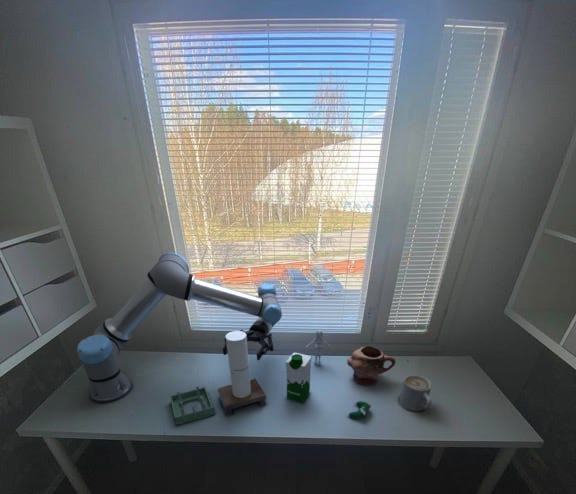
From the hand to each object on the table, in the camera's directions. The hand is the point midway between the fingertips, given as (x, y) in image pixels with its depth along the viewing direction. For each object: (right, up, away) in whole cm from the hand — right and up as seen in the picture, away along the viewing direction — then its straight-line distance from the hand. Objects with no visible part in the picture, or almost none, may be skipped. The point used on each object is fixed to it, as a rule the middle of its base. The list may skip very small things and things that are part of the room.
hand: (240, 354), depth 120 cm
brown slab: (-1, -18, +9) cm, 21 cm away
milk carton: (+22, -17, +12) cm, 30 cm away
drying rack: (-20, -21, +6) cm, 29 cm away
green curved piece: (+45, -22, +4) cm, 50 cm away
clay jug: (+53, -10, +22) cm, 58 cm away
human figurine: (+31, -4, +31) cm, 44 cm away
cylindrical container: (0, -15, +6) cm, 16 cm away
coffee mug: (+67, -20, +7) cm, 71 cm away
